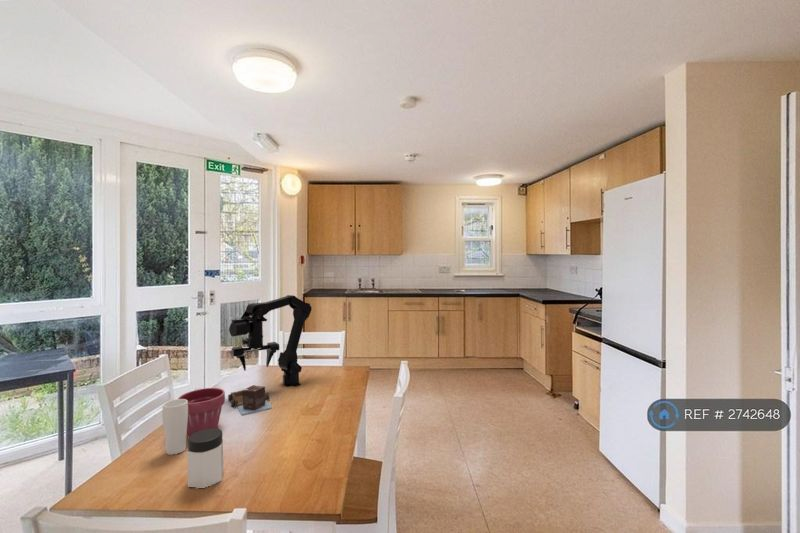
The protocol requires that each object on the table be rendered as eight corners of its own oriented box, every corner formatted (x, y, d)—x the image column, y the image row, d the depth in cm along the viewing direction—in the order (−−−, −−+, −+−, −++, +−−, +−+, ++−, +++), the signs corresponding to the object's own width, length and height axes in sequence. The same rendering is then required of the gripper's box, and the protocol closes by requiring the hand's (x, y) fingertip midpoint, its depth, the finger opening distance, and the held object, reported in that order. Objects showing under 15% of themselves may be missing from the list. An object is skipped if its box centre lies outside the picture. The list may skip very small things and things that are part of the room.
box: (265, 404, 145) (265, 386, 145) (255, 410, 139) (254, 391, 139) (253, 403, 147) (253, 384, 147) (242, 408, 141) (242, 389, 141)
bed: (263, 393, 161) (262, 386, 161) (270, 402, 151) (270, 394, 151) (227, 400, 153) (227, 393, 153) (233, 410, 143) (232, 402, 143)
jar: (216, 466, 103) (215, 424, 103) (230, 477, 98) (229, 433, 98) (181, 481, 96) (181, 436, 96) (194, 494, 91) (193, 446, 91)
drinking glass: (193, 446, 115) (193, 398, 115) (178, 457, 108) (177, 407, 108) (173, 445, 116) (173, 398, 116) (157, 456, 109) (156, 406, 109)
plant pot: (176, 446, 115) (175, 405, 115) (179, 428, 128) (178, 391, 128) (226, 435, 122) (225, 397, 122) (224, 419, 134) (224, 385, 134)
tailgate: (266, 402, 150) (266, 400, 150) (271, 409, 142) (271, 407, 142) (237, 408, 144) (237, 406, 144) (241, 416, 136) (241, 414, 136)
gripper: (272, 327, 169) (273, 361, 169) (228, 332, 159) (229, 367, 159) (279, 331, 160) (280, 366, 160) (233, 336, 149) (234, 374, 150)
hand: (256, 368), depth 157 cm, fingers open, 9 cm apart
